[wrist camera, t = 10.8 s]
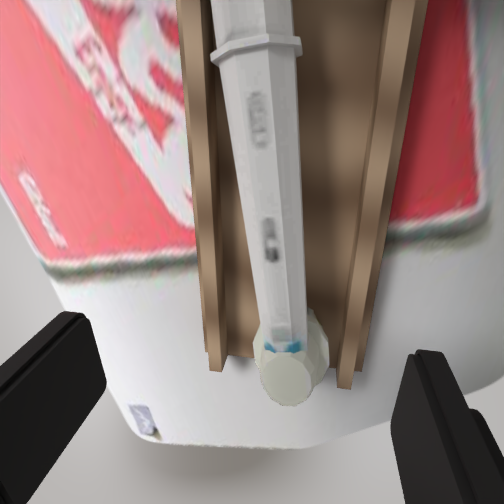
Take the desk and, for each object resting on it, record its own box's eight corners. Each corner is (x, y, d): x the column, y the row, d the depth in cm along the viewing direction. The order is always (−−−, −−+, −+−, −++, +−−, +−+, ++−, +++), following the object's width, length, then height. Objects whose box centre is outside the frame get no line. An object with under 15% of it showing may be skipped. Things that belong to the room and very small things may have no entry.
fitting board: (172, -122, 17) (87, -245, 11) (450, -154, 15) (544, -332, 9) (208, 344, 30) (179, 410, 24) (360, 362, 28) (371, 440, 22)
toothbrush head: (303, -72, 13) (332, 439, 20) (309, -2, 19) (330, 369, 26) (179, -40, 14) (247, 433, 21) (222, 17, 21) (264, 368, 27)
